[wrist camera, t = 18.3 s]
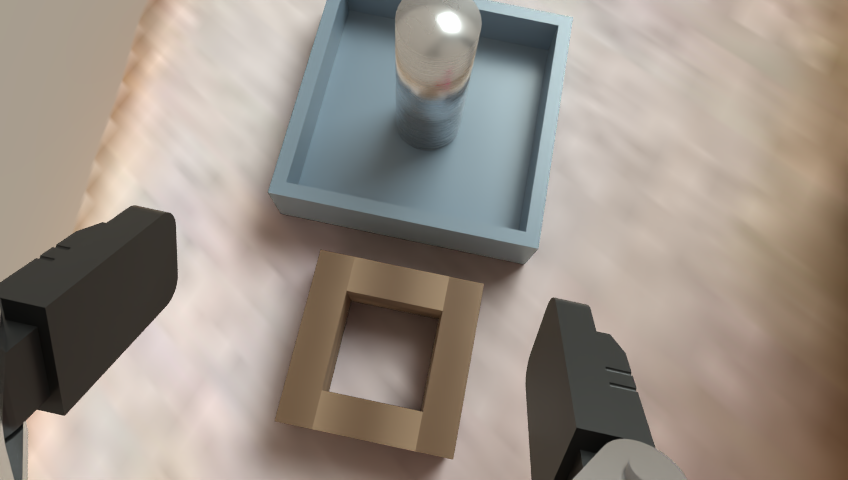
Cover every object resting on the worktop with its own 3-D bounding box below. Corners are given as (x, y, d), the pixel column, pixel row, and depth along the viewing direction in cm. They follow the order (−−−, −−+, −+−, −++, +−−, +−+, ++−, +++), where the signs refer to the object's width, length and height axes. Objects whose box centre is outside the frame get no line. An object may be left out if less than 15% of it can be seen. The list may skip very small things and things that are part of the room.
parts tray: (557, 51, 38) (573, 17, 34) (524, 264, 34) (538, 248, 30) (341, 7, 38) (336, -31, 35) (280, 213, 34) (267, 192, 30)
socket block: (476, 294, 33) (484, 283, 30) (447, 454, 30) (453, 459, 27) (327, 262, 33) (320, 249, 30) (286, 419, 30) (274, 421, 28)
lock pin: (464, 99, 35) (488, -7, 26) (453, 156, 34) (473, 65, 25) (403, 87, 35) (404, -23, 26) (389, 143, 34) (386, 48, 25)
